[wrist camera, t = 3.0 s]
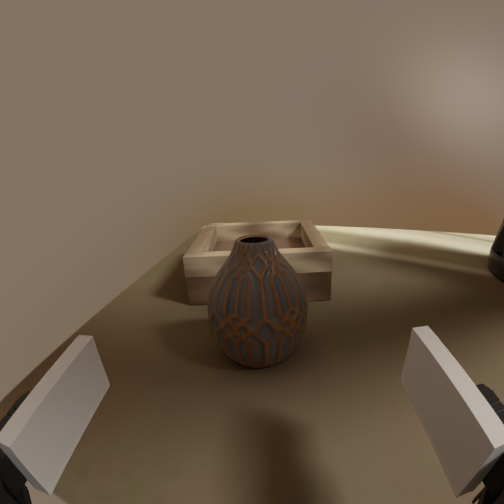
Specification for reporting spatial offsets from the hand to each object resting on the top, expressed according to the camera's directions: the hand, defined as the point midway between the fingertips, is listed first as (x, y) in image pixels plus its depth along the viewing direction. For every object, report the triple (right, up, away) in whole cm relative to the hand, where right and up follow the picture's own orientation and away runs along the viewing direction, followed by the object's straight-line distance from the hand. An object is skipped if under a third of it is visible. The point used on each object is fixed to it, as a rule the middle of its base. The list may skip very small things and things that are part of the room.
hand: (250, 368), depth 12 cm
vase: (+1, -3, +11) cm, 12 cm away
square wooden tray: (+1, +2, +26) cm, 26 cm away
